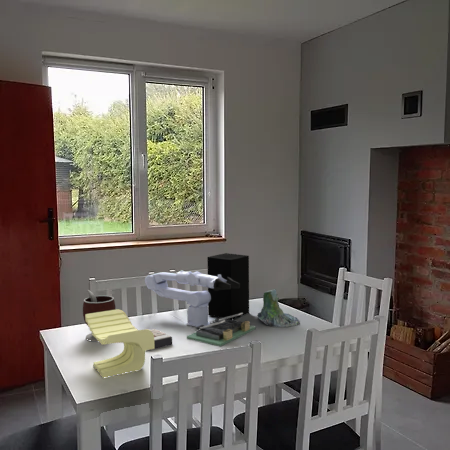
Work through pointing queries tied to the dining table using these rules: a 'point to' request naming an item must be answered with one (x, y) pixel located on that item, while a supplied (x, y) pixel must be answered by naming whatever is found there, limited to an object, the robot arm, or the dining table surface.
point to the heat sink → (222, 329)
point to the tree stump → (275, 312)
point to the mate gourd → (97, 307)
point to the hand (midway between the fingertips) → (235, 286)
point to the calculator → (161, 339)
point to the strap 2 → (230, 316)
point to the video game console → (233, 298)
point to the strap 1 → (212, 324)
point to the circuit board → (221, 342)
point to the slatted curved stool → (119, 341)
